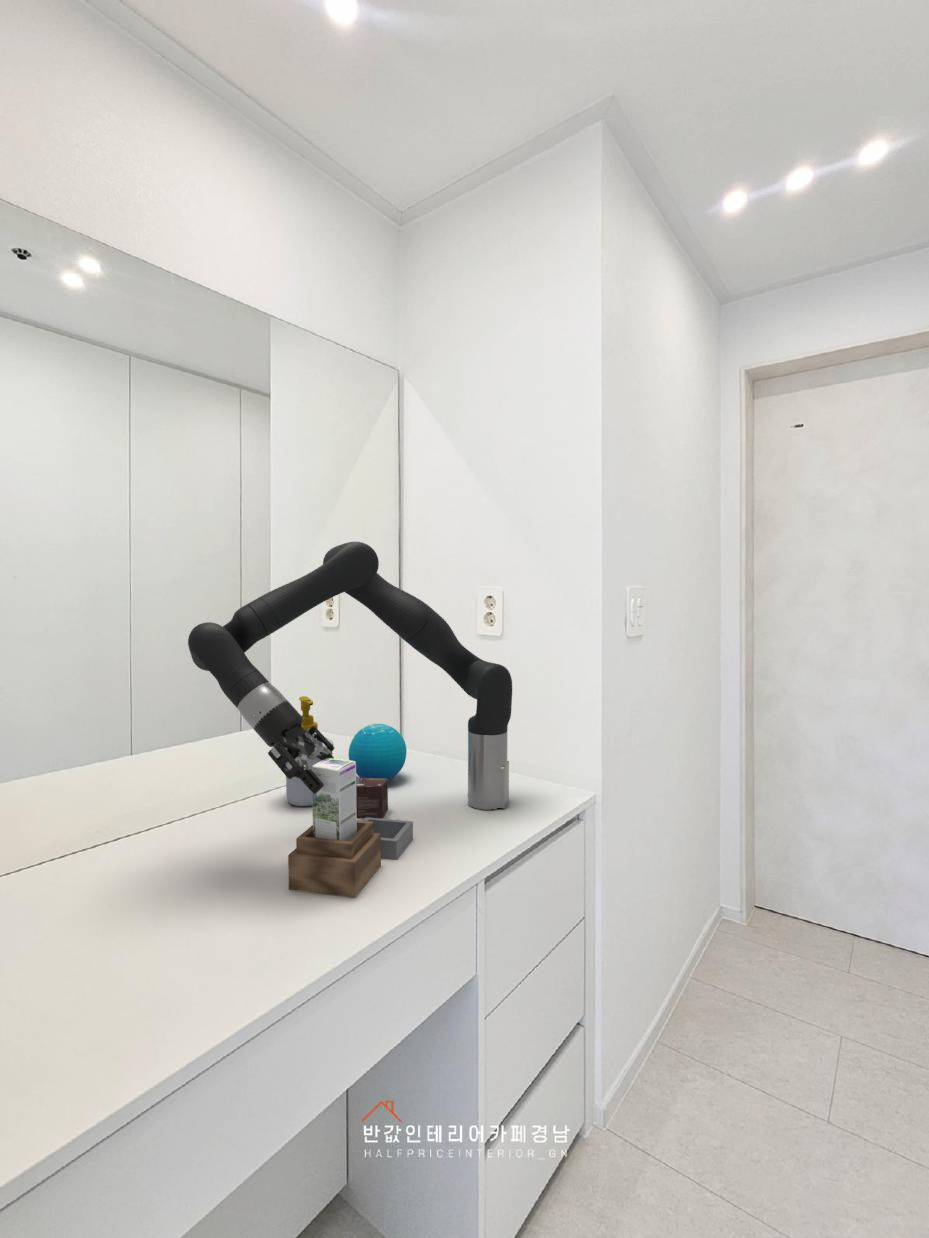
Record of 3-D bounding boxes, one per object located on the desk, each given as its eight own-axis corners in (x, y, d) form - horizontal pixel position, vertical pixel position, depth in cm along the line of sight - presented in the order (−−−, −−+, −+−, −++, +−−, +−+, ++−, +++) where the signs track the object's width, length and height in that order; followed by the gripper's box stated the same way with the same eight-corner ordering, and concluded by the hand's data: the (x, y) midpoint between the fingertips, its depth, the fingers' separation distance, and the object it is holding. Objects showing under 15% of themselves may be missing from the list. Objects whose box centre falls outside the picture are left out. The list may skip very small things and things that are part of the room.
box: (388, 809, 143) (388, 777, 143) (382, 819, 137) (382, 786, 137) (362, 808, 144) (362, 777, 143) (355, 818, 138) (355, 785, 137)
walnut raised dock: (381, 865, 115) (380, 819, 114) (355, 897, 103) (354, 847, 102) (320, 859, 117) (319, 814, 117) (288, 889, 106) (287, 840, 105)
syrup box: (358, 839, 111) (357, 759, 111) (339, 852, 106) (338, 768, 105) (331, 834, 114) (330, 756, 113) (311, 847, 108) (310, 764, 107)
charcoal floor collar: (412, 838, 127) (412, 821, 127) (396, 859, 117) (396, 841, 117) (366, 833, 129) (366, 817, 129) (346, 854, 119) (346, 836, 119)
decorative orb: (417, 776, 167) (416, 721, 166) (387, 793, 153) (387, 733, 153) (369, 769, 173) (368, 716, 172) (337, 785, 160) (336, 727, 159)
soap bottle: (285, 814, 140) (283, 705, 138) (274, 797, 151) (272, 696, 150) (340, 805, 146) (339, 700, 144) (326, 789, 157) (324, 691, 155)
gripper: (261, 707, 103) (326, 780, 102) (302, 692, 117) (360, 757, 115) (233, 737, 105) (297, 810, 103) (277, 719, 119) (334, 783, 117)
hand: (330, 782), depth 109 cm, fingers open, 8 cm apart
